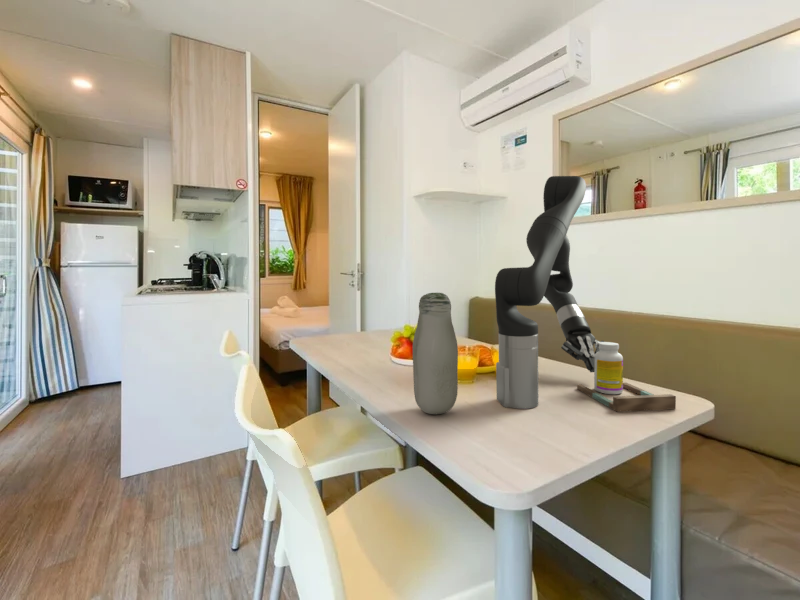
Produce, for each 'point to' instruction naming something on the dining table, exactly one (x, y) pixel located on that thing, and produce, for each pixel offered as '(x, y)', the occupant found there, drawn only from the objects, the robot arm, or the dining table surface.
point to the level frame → (634, 400)
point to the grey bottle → (435, 355)
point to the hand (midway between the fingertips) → (594, 370)
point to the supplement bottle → (608, 369)
